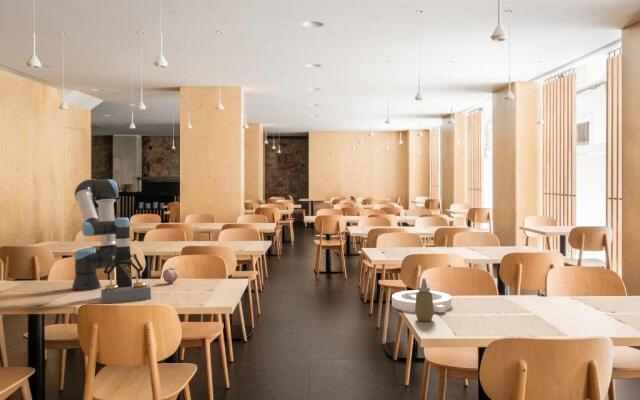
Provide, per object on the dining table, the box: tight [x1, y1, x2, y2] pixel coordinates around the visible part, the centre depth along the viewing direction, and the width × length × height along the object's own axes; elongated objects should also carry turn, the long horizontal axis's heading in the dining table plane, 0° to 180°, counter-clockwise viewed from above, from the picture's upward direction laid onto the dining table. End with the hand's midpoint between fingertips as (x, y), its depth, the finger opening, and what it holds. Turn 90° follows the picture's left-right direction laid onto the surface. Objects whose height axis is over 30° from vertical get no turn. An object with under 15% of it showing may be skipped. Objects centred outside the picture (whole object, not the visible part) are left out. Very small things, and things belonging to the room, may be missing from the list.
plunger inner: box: [104, 284, 118, 291], centre depth 281 cm, size 6×6×7 cm
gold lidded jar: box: [132, 281, 147, 289], centre depth 286 cm, size 6×6×7 cm
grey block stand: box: [100, 284, 152, 304], centre depth 284 cm, size 24×8×6 cm, turn 114°
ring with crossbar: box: [391, 289, 452, 313], centre depth 259 cm, size 28×28×5 cm
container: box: [115, 258, 133, 288], centre depth 296 cm, size 9×9×20 cm
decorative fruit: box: [162, 267, 179, 284], centre depth 328 cm, size 9×8×10 cm
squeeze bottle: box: [414, 278, 435, 323], centre depth 232 cm, size 8×8×18 cm
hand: (124, 284), depth 297 cm, fingers open, 13 cm apart
